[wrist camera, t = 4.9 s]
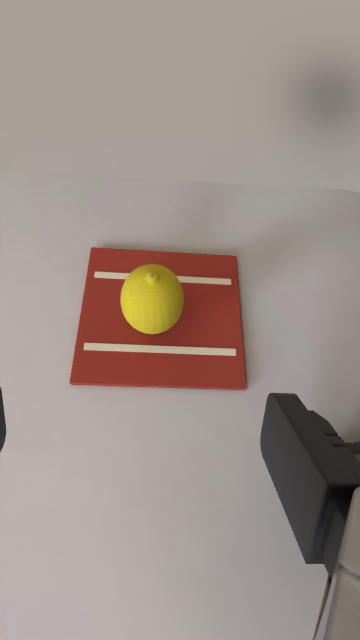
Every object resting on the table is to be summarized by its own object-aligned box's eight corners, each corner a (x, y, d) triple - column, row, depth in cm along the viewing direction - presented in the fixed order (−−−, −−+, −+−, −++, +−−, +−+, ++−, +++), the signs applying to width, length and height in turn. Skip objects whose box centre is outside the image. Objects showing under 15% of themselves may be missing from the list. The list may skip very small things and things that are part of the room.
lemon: (131, 291, 34) (127, 240, 27) (184, 302, 34) (194, 254, 27) (116, 339, 31) (107, 297, 24) (173, 352, 31) (180, 313, 24)
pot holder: (235, 259, 38) (236, 255, 37) (245, 390, 31) (246, 388, 30) (91, 250, 36) (91, 246, 36) (70, 384, 30) (69, 382, 29)
